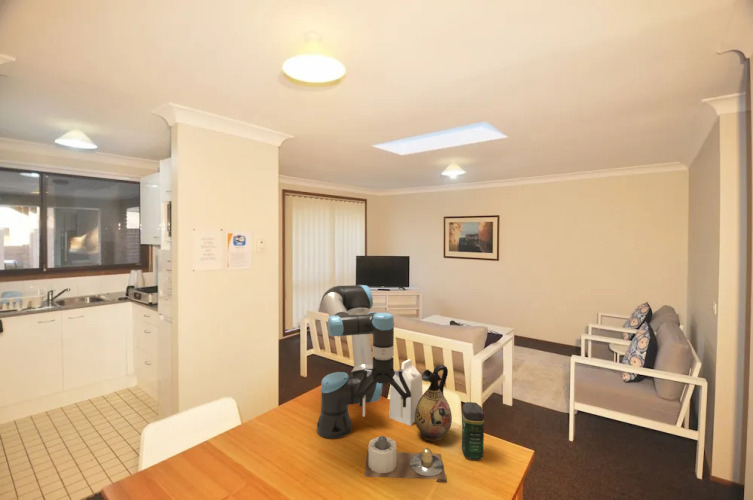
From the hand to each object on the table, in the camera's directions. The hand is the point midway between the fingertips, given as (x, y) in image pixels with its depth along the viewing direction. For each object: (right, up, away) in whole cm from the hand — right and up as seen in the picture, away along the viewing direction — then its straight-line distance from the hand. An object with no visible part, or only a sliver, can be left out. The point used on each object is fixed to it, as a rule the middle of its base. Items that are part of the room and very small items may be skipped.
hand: (382, 415), depth 124 cm
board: (+8, -19, 0) cm, 21 cm away
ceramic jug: (+22, -19, +21) cm, 36 cm away
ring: (0, -18, +1) cm, 18 cm away
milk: (+12, -18, +36) cm, 42 cm away
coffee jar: (+35, -19, +9) cm, 41 cm away
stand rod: (0, -19, +1) cm, 19 cm away
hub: (+16, -19, 0) cm, 25 cm away
